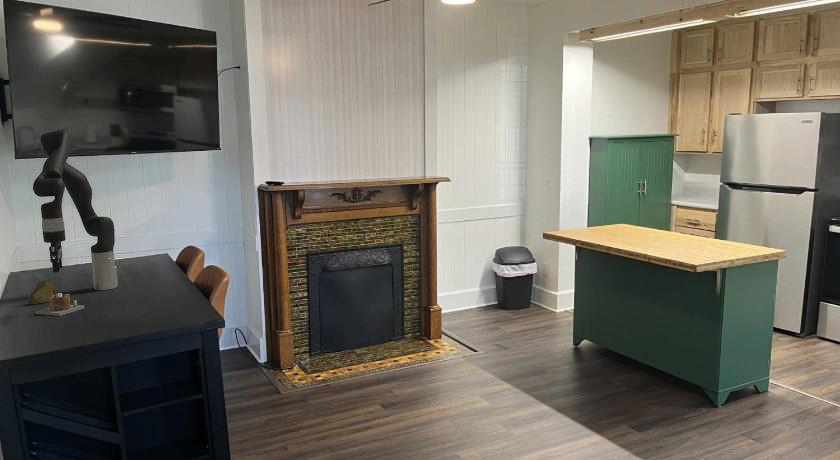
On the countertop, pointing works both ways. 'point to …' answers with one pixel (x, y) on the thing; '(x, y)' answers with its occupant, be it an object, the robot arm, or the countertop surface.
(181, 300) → the countertop surface
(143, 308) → the countertop surface
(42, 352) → the countertop surface
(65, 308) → the wooden square frame
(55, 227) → the robot arm
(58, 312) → the post board
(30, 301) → the rock
